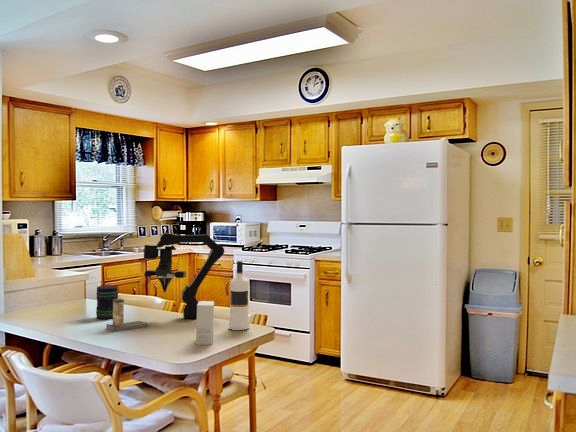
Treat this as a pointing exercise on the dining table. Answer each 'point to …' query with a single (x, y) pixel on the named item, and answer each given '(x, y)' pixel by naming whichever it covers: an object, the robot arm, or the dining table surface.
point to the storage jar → (105, 301)
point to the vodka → (239, 300)
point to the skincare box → (205, 323)
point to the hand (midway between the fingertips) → (164, 291)
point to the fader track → (126, 326)
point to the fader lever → (118, 312)
